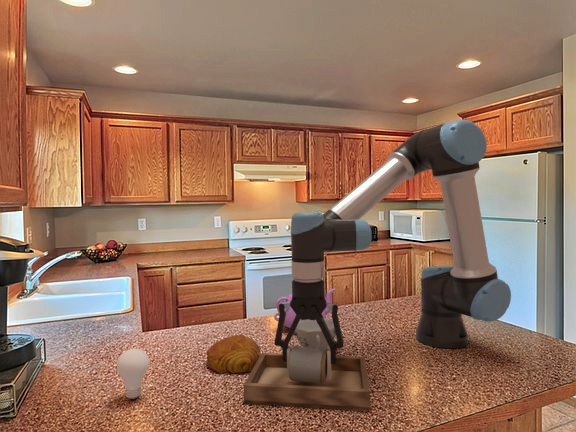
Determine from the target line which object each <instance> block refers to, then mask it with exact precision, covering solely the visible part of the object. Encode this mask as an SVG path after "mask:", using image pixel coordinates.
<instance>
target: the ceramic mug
mask: <svg viewBox="0 0 576 432" xmlns="http://www.w3.org/2000/svg"><path fill="white" fill-rule="evenodd" d="M288 370H289V371H288V372H289V378H290V380H292V381H301V382H311V383H323V382H324V381H325V380H326V376H327V351H323V350H319V349H312V348H307V347H302V346H301V345H300V346H299V345H293V347H292V350H291V353H290V358H289V369H288Z"/></svg>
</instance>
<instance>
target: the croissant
mask: <svg viewBox="0 0 576 432" xmlns="http://www.w3.org/2000/svg"><path fill="white" fill-rule="evenodd" d="M206 355H207V356H206V360H207V364H208V366H209V367H210V369H211V370H213V371H214V372H215V371H216V372H218V373H219V374H224V375H225V374H229V373H232V374H237V373H238V374H239V373H240V374H241V373H249V372H251V371H252V369H253V368H254V366H255V364H256V362H257V361H258V359H259V357H260V355H261V349H260V346H259V344H258V343H257V342H256V341H255V340H254V339H252V338H251V337H248V336H246V335H243V334H235V335H231V336H228V337H224V338H223V339H220V340H218V341H217V342H215V343H213V344H212V345H211V346H210V347H209V348H208V349H207V351H206Z"/></svg>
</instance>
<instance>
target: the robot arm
mask: <svg viewBox="0 0 576 432" xmlns="http://www.w3.org/2000/svg"><path fill="white" fill-rule="evenodd" d="M487 145H488V144H487V139H486V136H485V134H484V132H483V130H482V129H481V127H479V125H477V124H476V123H475V122H473V121H470V120H468V119H458V120H452V121H448V122H445V123H442V124H439V125H435V126H433V127H430V128H425V129H421V130H420V131H418V132H416V133H415V134H413V135H411V136H410V137H409V138H407V139H406V140H405V141H404V142H402V143H401V144H399V145H398V146H397V147H396V148H395V149H394V150H393V151H392V152H390V154H389V155H388V156H387V160H386V161H385V162H384V163H383V164H382V165H381V166H379V167H378V168H377V169H375V170H374V172H372V173H371V174H370V175H368V176H367V177H366V178H365V179H364V180H363V181H361V182H360V183H359V184H358V185H357V186H355V187H354V188H352V190H350V192H348V193H347V194H346V195H345V196H343V198H341V199H340V200H339V201H337V202H336V203H335V204H334V205H333V206H332V207H330V208H329V209H328V210H327V211H325V212H324V213H322V212H316V211H315V212H314V211H313V212H294V214H292V216H291V223H290V237H291V238H290V240H291V241H290V246H291V247H290V248H291V278H292V281H291V294H292V300H291V302H286V303H285V301H280V302H279V312H280V316H279V315H278V318H279V321H277V327H276V332H275V338H274V342H273V343H274V345H275V346H276V347H280V348H282V349H281V350H282V351H281V352H282V353H281V354H282V355H283V362H287V378H289V372H288V371H289V370H288V369H289V358H290V353H291V350H292V348H293V347H292V345H290V342H291V340H292V338H293V335H294V334H293V333H294V331H295V329H296V327H297V325H298V323H299V321H300V319H302V320H307V319H309V320H316V321H317V323H318V325H319V326H320V328H321V331H322V333H323V335H324V337H325V339H326V341H327V343H328V345H329V347H328V348H327V350H326V353H327V376H328V380H331V364H335V363H336V356H337V350H338V349H343V348H344V338H343V333H342V329H341V324H340V319H339V315H338V310H339V304H338V302H333V303H332V302H331V303H327V302H326V296H325V294H326V293H325V292H326V291H325V280H324V277H325V253H333V252H335V253H337V252H357V251H364V250H367V249H368V248H369V247H370V245H371V244H372V243H371V242H372V237H373V236H372V234H373V233H372V229H371V226H370V223H368V222H367V221H366V220H364V219H361V218H362V217H364V216H365V215H366V214H367V213H368V212H369V211H370V210H372V209H373V208H374V207H375V206H377V204H379V203H380V202H381V201H382V200H383V199H385V198H386V197H387V196H388V195H389V194H390V193H392V192H393V191H394V190H395V189H396V188H398V186H400V185H401V184H403V182H404V181H411V180H412V179H413V178H414V177H416V176H417V175H419V174H421V173H423V172H426V171H430V170H431V173H432V178H434V179H435V180H436V181H438V182H439V184H440V189H441V194H442V195H441V196H442V200H443V207H444V211H445V217H446V224H447V228H448V229H447V230H448V235H449V240H450V247H451V251H452V257H453V262H454V263H453V264H454V265H436V266H435V265H433V266H425V267H424V268H422V270H421V277H420V291H421V293H420V294H421V297H420V299H421V303H420V304H421V313H420V314H421V315H420V317H419V320H418V324H417V326H416V329H415V339H416V340H417V341H418V342H420V343H421V344H424V345H427V346H431V347H433V348H434V347H436V348H441V349H459V348H463V347H467V345H468V344H469V334H468V331H467V328H466V325H465V322H464V319H463V315H464V316H467V317H468V318H473V320H474V319H475V320H477V321H482V322H487V323H488V322H489V323H490V322H495V321H498V320H500V319H501V318H502V317H503V316H504V315H505V314H506V312H507V310H508V309H509V308H510V307H509V306H510V304H511V302H512V301H511V299H512V291H511V287H510V286H509V284H508V283H506V282H505V281H504V280H502V279H500V278H499V276H498V270H497V267H496V266H494V265H493V264H491V262H490V260H489V255H488V248H487V243H486V237H485V232H484V225H483V224H484V223H483V219H482V212H481V207H480V201H479V196H478V195H479V194H478V190H477V184H476V175H477V174H478V171H479V170H480V169H481V168H480V162H481V161H482V160H483V158H484V157H485V153H486V152H487ZM289 307H291V308H292V309H293V311H294V312H295V313H296V316H295V319H294V321H293V323H292V325H291V327H290V328H289V330H288V332H287V334H286V335H285V338H284V339H282V337H283V333H284V326H285V325H284V322H285V317H286V312H288V310H289ZM325 308H328V310H329V314H331V320H333V324H334V329H335V334H336V335H335V338H336V341H335V338H334V339H333V337H332V335H331V333H330V331H329V329H328V327H327V325H326V323H325V321H324V318H323V316H322V312H323V311H324V310H325Z"/></svg>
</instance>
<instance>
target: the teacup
mask: <svg viewBox="0 0 576 432" xmlns="http://www.w3.org/2000/svg"><path fill="white" fill-rule="evenodd" d="M324 321H325V323H326V325H327V327H328V329H329V331H330V333H331V335H332V337H333V339H334V340H335V338H336V334H335V329H334V324H333V320H332V319H329V318H327V317H326V318H324ZM294 335H295V337H296V340H297V341H298V342H299V344H300V346H301V347H307V348H312V349H319V350H323V351H325V352H327V348H328V347H329V345H328V343H327V341H326V339H325V337H324V335H323V333H322V331H321V328H320V326H319V325H318V323H317V321H316V320H309V319H307V320H301V321H299V323H298V325H297V327H296V329H295V334H294Z"/></svg>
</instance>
